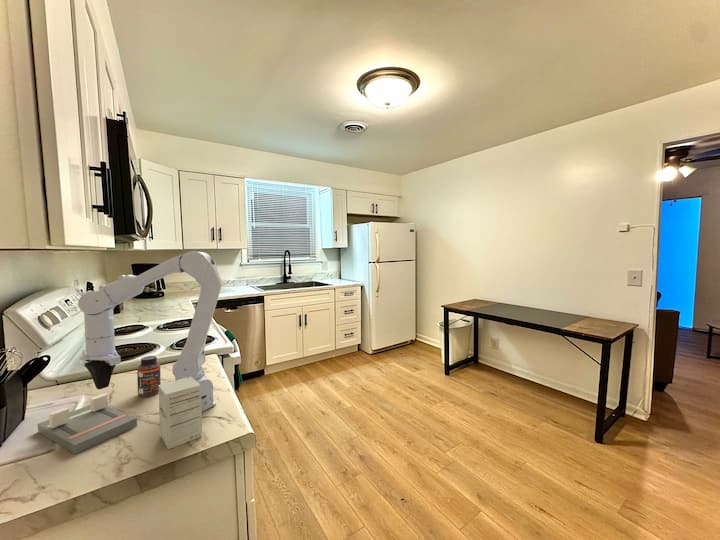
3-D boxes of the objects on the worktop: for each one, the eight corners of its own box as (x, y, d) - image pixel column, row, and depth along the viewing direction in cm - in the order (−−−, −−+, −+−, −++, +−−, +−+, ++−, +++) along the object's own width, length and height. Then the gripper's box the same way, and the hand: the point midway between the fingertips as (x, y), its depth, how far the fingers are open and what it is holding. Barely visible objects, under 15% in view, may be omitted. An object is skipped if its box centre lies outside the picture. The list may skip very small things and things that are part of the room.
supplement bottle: (141, 399, 89) (140, 362, 88) (135, 394, 92) (133, 358, 92) (164, 392, 93) (163, 356, 93) (157, 387, 97) (155, 353, 97)
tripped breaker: (107, 406, 80) (107, 394, 80) (93, 411, 77) (93, 399, 77) (104, 405, 81) (104, 393, 80) (90, 410, 78) (90, 398, 78)
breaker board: (137, 425, 75) (136, 417, 75) (75, 454, 64) (74, 444, 64) (98, 409, 83) (98, 401, 83) (38, 431, 72) (37, 423, 72)
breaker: (69, 421, 72) (68, 408, 72) (52, 428, 70) (52, 414, 70) (66, 420, 73) (65, 407, 73) (49, 426, 70) (49, 413, 70)
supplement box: (159, 436, 70) (157, 384, 70) (193, 424, 76) (192, 375, 75) (166, 451, 65) (164, 394, 64) (203, 436, 70) (201, 384, 70)
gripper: (66, 336, 77) (69, 388, 77) (95, 343, 70) (97, 399, 71) (100, 330, 83) (102, 378, 84) (129, 336, 77) (131, 388, 77)
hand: (102, 387), depth 78 cm, fingers closed
